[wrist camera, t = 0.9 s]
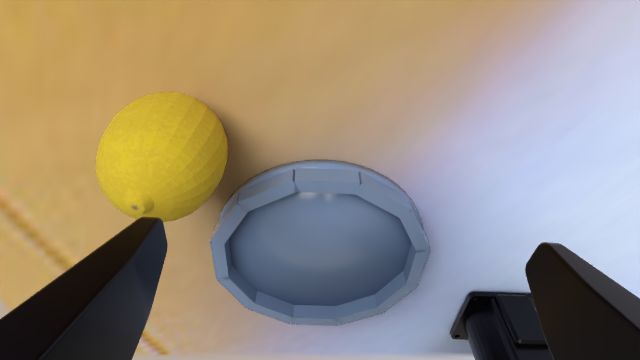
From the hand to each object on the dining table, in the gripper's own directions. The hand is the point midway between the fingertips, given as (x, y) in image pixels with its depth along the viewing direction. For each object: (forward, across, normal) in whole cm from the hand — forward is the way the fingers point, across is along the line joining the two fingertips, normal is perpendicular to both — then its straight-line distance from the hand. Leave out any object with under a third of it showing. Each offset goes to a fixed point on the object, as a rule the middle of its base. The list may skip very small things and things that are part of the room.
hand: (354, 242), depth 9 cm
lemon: (+13, +8, +4) cm, 16 cm away
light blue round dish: (+13, -1, +14) cm, 19 cm away
